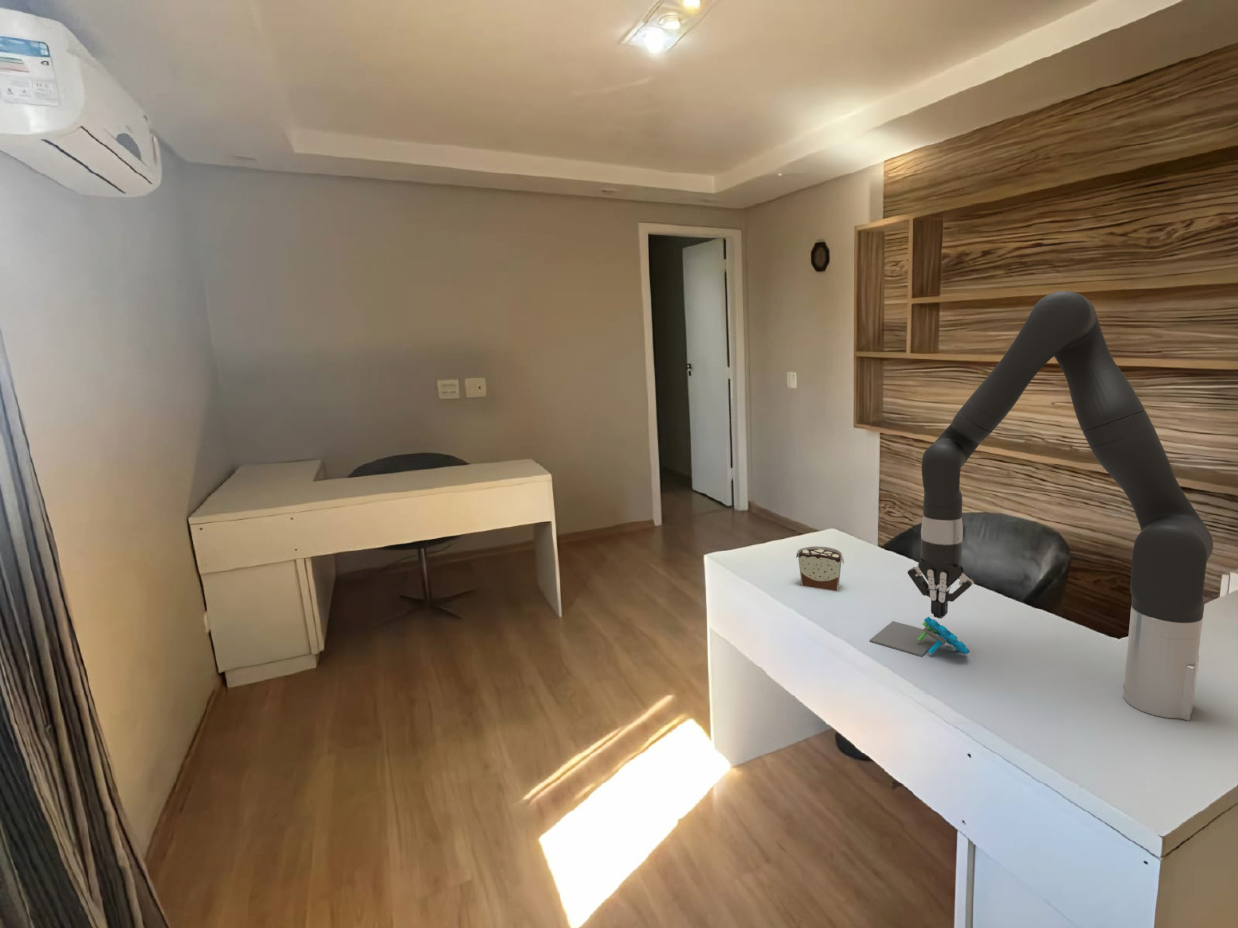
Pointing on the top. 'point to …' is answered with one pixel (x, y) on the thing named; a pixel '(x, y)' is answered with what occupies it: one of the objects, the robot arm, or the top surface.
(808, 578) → the food container
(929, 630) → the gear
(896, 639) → the mat
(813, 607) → the top surface
